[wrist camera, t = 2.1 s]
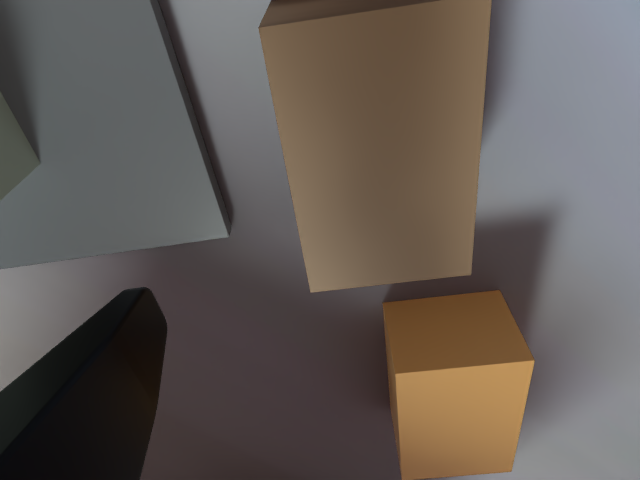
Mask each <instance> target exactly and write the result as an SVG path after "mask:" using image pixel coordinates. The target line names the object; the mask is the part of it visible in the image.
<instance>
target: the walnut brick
mask: <svg viewBox="0 0 640 480" xmlns="http://www.w3.org/2000/svg"><path fill="white" fill-rule="evenodd" d="M491 2H492V0H273V1H271V2H270V4H269V6H268V9H267V11H266V13H265V15H264V17H263V19H262V21H261V23H260V26H259V33H260V38H261V43H262V48H263V53H264V59H265V64H266V69H267V74H268V79H269V84H270V89H271V94H272V99H273V104H274V109H275V115H276V120H277V125H278V130H279V135H280V140H281V145H282V150H283V155H284V160H285V165H286V171H287V176H288V181H289V186H290V191H291V196H292V201H293V206H294V211H295V216H296V221H297V227H298V232H299V237H300V242H301V247H302V252H303V257H304V262H305V267H306V272H307V277H308V283H309V288H310V293H312V292H321V291H330V290H339V289H348V288H357V287H366V286H375V285H384V284H393V283H402V282H411V281H420V280H430V279H439V278H448V277H457V276H466V275H471V270H472V257H473V243H474V230H475V217H476V203H477V190H478V176H479V163H480V150H481V136H482V123H483V109H484V96H485V83H486V69H487V56H488V42H489V29H490V16H491Z"/></svg>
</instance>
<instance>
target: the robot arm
mask: <svg viewBox="0 0 640 480" xmlns="http://www.w3.org/2000/svg"><path fill="white" fill-rule="evenodd" d="M166 337H167V323H166V320H165V317H164V315H163V313H162V311H161V309H160V307H159V305H158V303H157V301H156V299H155V297H154V295H153V293H152V291H151V290H150V289H148V288H146V287H141V288H133V289H127V290H124V291H122V292H121V293H120V294H119V295H117V296H116V297H115V298H114V299H113V300H111V301H110V302H109V303H108V304H106V305H105V306H104V307H103V308H102V309H100V310H99V311H98V312H97V313H96V314H94V315H93V316H92V317H91V318H89V319H88V320H87V321H86V322H85V323H83V324H82V325H81V326H80V327H79V328H77V329H76V330H75V331H74V332H72V333H71V334H70V335H69V336H68V337H66V338H65V339H64V340H63V341H61V342H60V343H59V344H58V345H57V346H55V347H54V348H53V349H52V350H51V351H49V352H48V353H47V354H46V355H44V356H43V357H42V358H41V359H40V360H38V361H37V362H36V363H35V364H34V365H32V366H31V367H30V368H29V369H27V370H26V371H25V372H24V373H23V374H21V375H20V376H19V377H18V378H17V379H15V380H14V381H13V382H12V383H10V384H9V385H8V386H7V387H6V388H4V389H3V390H2V391H1V392H0V480H140V476H141V472H142V468H143V464H144V460H145V456H146V452H147V448H148V444H149V440H150V436H151V432H152V427H153V423H154V419H155V414H156V410H157V404H158V398H159V390H160V383H161V375H162V367H163V360H164V352H165V344H166Z"/></svg>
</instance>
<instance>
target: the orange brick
mask: <svg viewBox="0 0 640 480" xmlns="http://www.w3.org/2000/svg"><path fill="white" fill-rule="evenodd" d="M383 316H384V329H385V342H386V355H387V369H388V382H389V395H390V409H391V415H392V422H393V428H394V434H395V440H396V447H397V453H398V459H399V466H400V472H401V478H402V480H416V479H428V478H441V477H453V476H465V475H477V474H489V473H502V472H512V467H513V462H514V457H515V453H516V448H517V443H518V438H519V433H520V429H521V424H522V419H523V414H524V410H525V405H526V400H527V395H528V390H529V386H530V381H531V376H532V371H533V367H534V362H535V360H534V358H533V356H532V354H531V352H530V350H529V348H528V346H527V344H526V342H525V340H524V338H523V336H522V334H521V332H520V330H519V328H518V326H517V324H516V322H515V320H514V318H513V316H512V314H511V312H510V310H509V308H508V306H507V304H506V302H505V300H504V298H503V296H502V294H501V292H500V290H495V291H486V292H477V293H467V294H458V295H449V296H440V297H430V298H421V299H412V300H403V301H394V302H384V303H383Z"/></svg>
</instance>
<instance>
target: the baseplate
mask: <svg viewBox="0 0 640 480" xmlns="http://www.w3.org/2000/svg"><path fill="white" fill-rule="evenodd" d="M230 231H231V224H230V221H229V218H228V215H227V211H226V208H225V205H224V202H223V199H222V196H221V193H220V190H219V187H218V184H217V181H216V178H215V175H214V172H213V168H212V165H211V162H210V159H209V156H208V153H207V150H206V147H205V144H204V141H203V138H202V135H201V132H200V129H199V126H198V122H197V119H196V116H195V113H194V110H193V107H192V104H191V101H190V98H189V95H188V92H187V89H186V86H185V83H184V79H183V76H182V73H181V70H180V67H179V64H178V61H177V58H176V55H175V52H174V49H173V46H172V43H171V40H170V36H169V33H168V30H167V27H166V24H165V21H164V18H163V15H162V12H161V9H160V6H159V3H158V0H0V269H5V268H12V267H20V266H27V265H34V264H41V263H48V262H55V261H62V260H69V259H77V258H84V257H91V256H98V255H105V254H112V253H119V252H126V251H134V250H141V249H148V248H155V247H162V246H169V245H176V244H184V243H191V242H198V241H205V240H212V239H219V238H226V237H229V235H230Z"/></svg>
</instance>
